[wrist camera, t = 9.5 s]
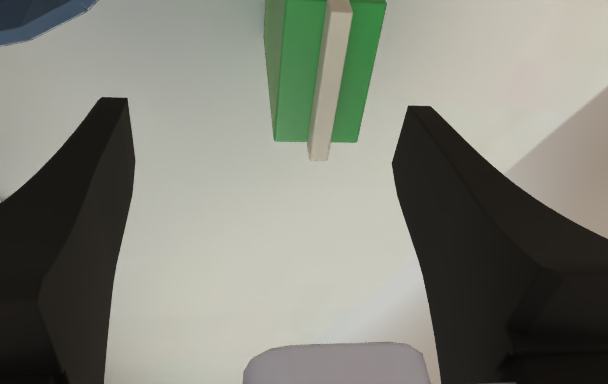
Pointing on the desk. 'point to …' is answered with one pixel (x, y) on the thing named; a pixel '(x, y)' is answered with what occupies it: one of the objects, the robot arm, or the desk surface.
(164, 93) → the desk surface
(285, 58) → the green rectangular block
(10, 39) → the bowl
